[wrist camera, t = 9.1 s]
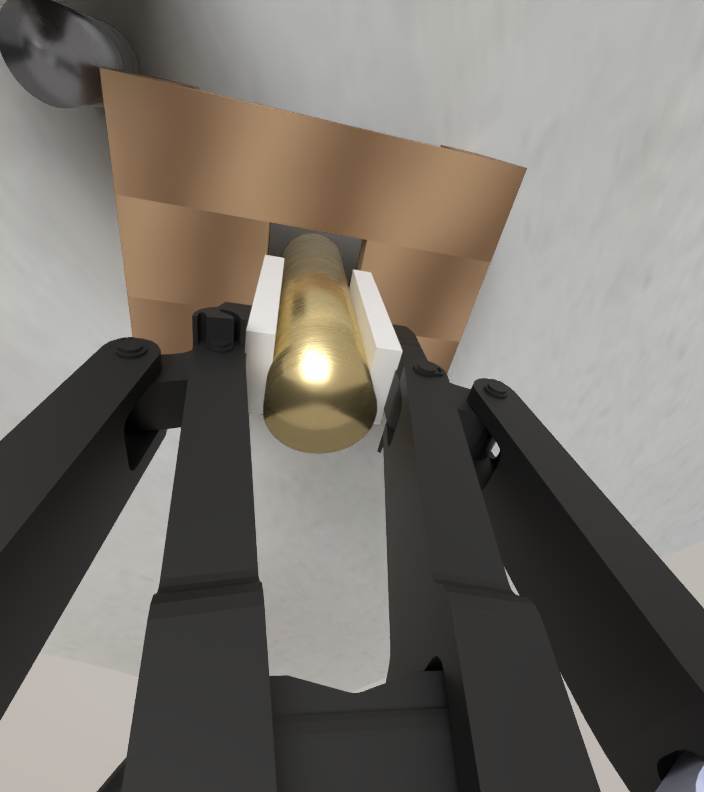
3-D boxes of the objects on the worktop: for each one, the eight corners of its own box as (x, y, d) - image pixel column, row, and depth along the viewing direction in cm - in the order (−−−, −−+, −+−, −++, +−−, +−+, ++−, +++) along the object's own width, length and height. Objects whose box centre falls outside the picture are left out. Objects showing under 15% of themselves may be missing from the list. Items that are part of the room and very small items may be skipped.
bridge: (168, 318, 25) (136, 370, 20) (152, 76, 18) (99, 67, 14) (413, 350, 28) (436, 401, 23) (476, 153, 21) (526, 168, 17)
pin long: (278, 287, 21) (258, 448, 11) (285, 227, 19) (268, 355, 10) (335, 297, 21) (363, 457, 12) (347, 239, 20) (390, 371, 10)
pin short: (73, 98, 19) (10, 97, 14) (59, 10, 17) (-16, -19, 13) (144, 113, 19) (102, 116, 15) (137, 30, 17) (88, 8, 13)
